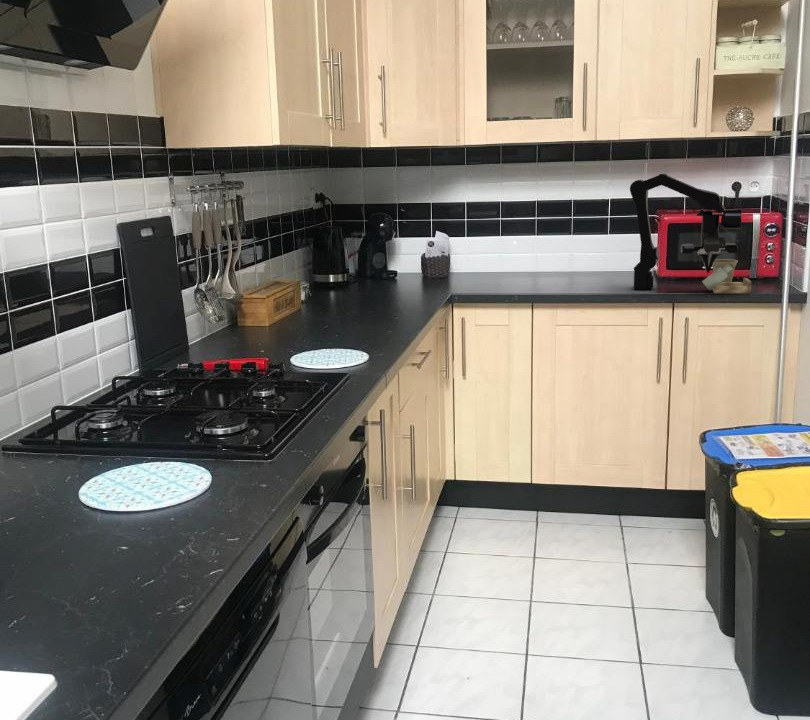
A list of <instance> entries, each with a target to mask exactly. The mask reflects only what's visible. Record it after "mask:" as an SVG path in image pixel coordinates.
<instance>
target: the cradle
mask: <svg viewBox="0 0 810 720" xmlns="http://www.w3.org/2000/svg"><path fill="white" fill-rule="evenodd" d="M742 278H743V279H742V282H738V281H732V282H721V283H720V284H718V285H717V286H714V288H713V289H712V290H711V291H712V292H713V294H752V280H750V279H749V278H747V277H742Z"/></svg>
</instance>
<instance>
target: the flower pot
mask: <svg viewBox="0 0 810 720" xmlns="http://www.w3.org/2000/svg"><path fill="white" fill-rule="evenodd" d="M729 263H731V264H732V265H733V266H734V267H735V268H736V266H737V264H738V260H736V259H728V258H723V259H722V258H719V259H718V258H716V259H715V260H714V262H713V264H712V271H713V272H715V271H716V270H717V269H718V268H720V267H721V268H722V269H723V268H725V267H726V266H727V265H728V264H729ZM713 272H712V273H713ZM734 274H735V269H732V270H731V271H730V272H728V273H727V275H728V277H727V278H726V279H725V280H723V281H722V282H733V278H734Z"/></svg>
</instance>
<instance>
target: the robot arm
mask: <svg viewBox="0 0 810 720" xmlns="http://www.w3.org/2000/svg"><path fill="white" fill-rule="evenodd" d="M660 186H663V187H665V188H668V189H670V190H672V191H675V192H677V193H679V194H681V195H684V196H685V197H688V198H690V199H692V200H693V201H695V202H696V203H697V204H699V205H700V206H702V207H703V208H705V209H706V210H704V209H703V208H701V209H700V211H699V212H697V213H696V217H701V232H700V233H701V235H700V236H701V238H700V245H694V244H693V243H682V244H681V245H680V253H681V254H693V253H694V252H696V253H697V255H698V256H699V257H701V260H702V262H703V266H704V269H705V272H706V274H709V273H710V271H711V269H712V268H713V266H712V264H713V262H714V260H715V259H717V257H718V256H721V252H724V251H725V252H727V253H729V254H738V253H739V245H737V244H736V243H735V242H733V243H732V242H731V243H730V242H729V243H726V242H727V241H726V239H727V238H726V237H720V236H719V235H720V234H719V231H720V228H719V227H720V226H721V227H724V228H723V229H725V230H726V229H730V230H731V229H735V230H737V229H740V230H741V229H742V222H743V220H742V219H743V217H742V208H735V209H732V208H731V209H726V207H725V206H724V205H723V204H722V202H721V201H722V200H721V199H722V198H721V196H720V194H718V193H717V192H715V191H710V190H706V189H701V188H698V187H695V186H692V185H690V184H688V183H686V182H684V181H681V180H680V179H676V177H672V176H670V175H668V174H666V173H663V172H662V173H660V174H658V175H656V176H653V177H651V178H647V179H645V180H644V179H636V180H634V181H633V182H632V183H631V184H630V186H629V192H630V195H631V198H632V202H634V205H635V210H636V211H635V212H636V217H637V222H638V231H639V238H640V254H639V262H638V263H637V264H636V265H635V266H634V267H633V282H632V283H633V286H632V288H633V291H652V290H653V288H654V276H653V271H652V269H653V268H654V267H656V265H657V263H658V262H659V258H660V257H661V256H660V255H659V246H657V245H656V246H655V245H654V243H653V239H652V232H651V224H650V223H651V222H650V216H649V207H648V199H649V191H650V190H652V189H655V188H658V187H660ZM713 210H714V211H715V212H716V213H714V211H713ZM720 217H721V219H720ZM708 255H709V256H708Z"/></svg>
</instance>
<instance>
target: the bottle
mask: <svg viewBox="0 0 810 720" xmlns="http://www.w3.org/2000/svg"><path fill="white" fill-rule="evenodd" d="M732 269H734V270H736V266H735V267H734V266H733V265H732V264H731V263H729V264H728V265H727V266H726V267H725V268H723V269H722V268H721V267H720V268H718V269H717V270H716V271H715V272H712V273H711V274H710V275H708V276H707V277H706V278H705V279H703V280H702V281H701V283H703V285H704V286H705V287H706V288H707V290H709V291H710V292H711V291H712V289H713V288H714V286H717V285H718V284H720V283H721V282H722V281H723V280H725V279H726V278H727V277H728V275H727V273H728V272H730V271H731V270H732Z"/></svg>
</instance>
